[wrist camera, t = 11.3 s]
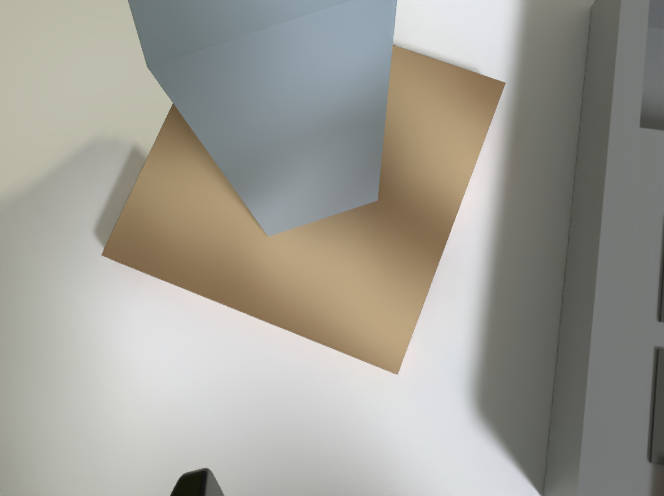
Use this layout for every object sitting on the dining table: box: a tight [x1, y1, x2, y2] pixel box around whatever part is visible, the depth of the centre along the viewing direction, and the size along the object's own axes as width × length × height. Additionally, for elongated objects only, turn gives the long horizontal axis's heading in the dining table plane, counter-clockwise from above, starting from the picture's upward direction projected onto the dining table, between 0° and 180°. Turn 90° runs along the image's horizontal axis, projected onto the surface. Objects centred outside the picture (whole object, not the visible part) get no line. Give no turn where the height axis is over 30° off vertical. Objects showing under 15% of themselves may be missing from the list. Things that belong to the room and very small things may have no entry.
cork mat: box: [102, 45, 505, 374], centre depth 22 cm, size 11×11×1 cm
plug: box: [128, 0, 397, 237], centre depth 15 cm, size 4×4×12 cm
